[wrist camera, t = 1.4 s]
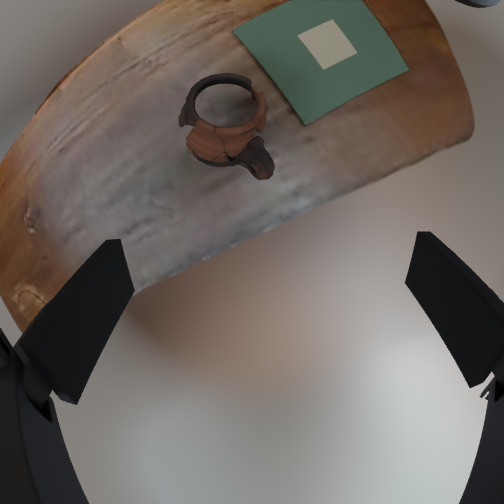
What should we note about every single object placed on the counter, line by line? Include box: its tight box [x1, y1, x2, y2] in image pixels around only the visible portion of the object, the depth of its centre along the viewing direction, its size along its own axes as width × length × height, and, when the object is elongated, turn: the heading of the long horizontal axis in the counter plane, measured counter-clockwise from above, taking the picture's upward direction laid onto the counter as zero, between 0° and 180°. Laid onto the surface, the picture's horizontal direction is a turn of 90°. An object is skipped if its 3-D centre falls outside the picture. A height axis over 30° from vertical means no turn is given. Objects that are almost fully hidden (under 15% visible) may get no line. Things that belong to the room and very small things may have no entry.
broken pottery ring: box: [179, 73, 275, 180], centre depth 26 cm, size 12×10×8 cm
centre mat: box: [232, 0, 409, 126], centre depth 23 cm, size 16×14×1 cm
